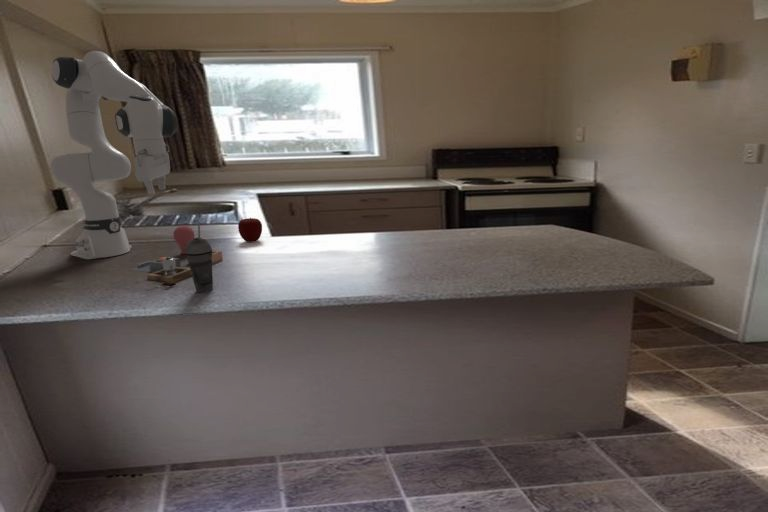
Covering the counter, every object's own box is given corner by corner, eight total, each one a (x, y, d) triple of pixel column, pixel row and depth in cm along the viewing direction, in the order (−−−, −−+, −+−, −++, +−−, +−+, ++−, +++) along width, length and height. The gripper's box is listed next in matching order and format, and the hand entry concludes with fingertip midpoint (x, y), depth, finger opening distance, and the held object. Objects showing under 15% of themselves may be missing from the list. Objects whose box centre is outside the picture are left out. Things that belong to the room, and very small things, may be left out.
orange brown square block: (188, 267, 156) (186, 255, 155) (205, 261, 164) (204, 249, 162) (206, 270, 153) (204, 257, 152) (223, 263, 160) (221, 251, 159)
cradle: (131, 273, 152) (129, 261, 151) (156, 265, 161) (154, 253, 160) (162, 277, 147) (159, 265, 146) (186, 268, 156) (184, 256, 154)
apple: (260, 243, 187) (257, 219, 184) (236, 244, 187) (233, 220, 184) (266, 238, 196) (263, 215, 193) (244, 239, 196) (241, 216, 193)
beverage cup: (195, 286, 137) (185, 221, 131) (220, 285, 137) (211, 219, 132) (187, 295, 130) (176, 226, 124) (214, 293, 130) (203, 224, 125)
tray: (148, 283, 141) (147, 274, 141) (173, 274, 150) (171, 266, 149) (170, 286, 138) (169, 277, 137) (194, 277, 146) (193, 268, 145)
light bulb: (190, 259, 167) (185, 227, 164) (173, 259, 168) (167, 227, 165) (201, 254, 174) (196, 223, 170) (184, 254, 175) (179, 223, 172)
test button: (157, 266, 151) (155, 259, 150) (166, 263, 154) (164, 256, 154) (165, 267, 150) (163, 260, 149) (173, 264, 153) (172, 257, 152)
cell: (162, 278, 143) (159, 258, 141) (172, 275, 146) (169, 255, 144) (170, 279, 141) (167, 259, 140) (180, 276, 145) (176, 256, 143)
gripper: (147, 151, 137) (155, 196, 141) (170, 146, 156) (177, 186, 160) (125, 151, 136) (134, 197, 140) (151, 146, 155) (158, 187, 160)
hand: (157, 191), depth 150 cm, fingers open, 8 cm apart
